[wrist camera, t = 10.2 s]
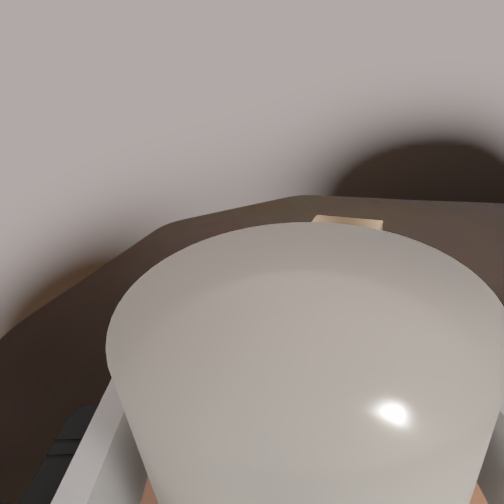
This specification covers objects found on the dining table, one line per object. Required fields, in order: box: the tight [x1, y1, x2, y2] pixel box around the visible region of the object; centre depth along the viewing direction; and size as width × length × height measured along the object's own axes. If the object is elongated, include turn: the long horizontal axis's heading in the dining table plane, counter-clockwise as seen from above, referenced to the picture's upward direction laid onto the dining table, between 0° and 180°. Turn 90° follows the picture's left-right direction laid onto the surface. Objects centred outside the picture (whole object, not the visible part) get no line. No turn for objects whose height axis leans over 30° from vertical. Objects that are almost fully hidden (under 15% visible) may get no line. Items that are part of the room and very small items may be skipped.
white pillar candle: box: [106, 222, 504, 504], centre depth 10 cm, size 8×8×11 cm
